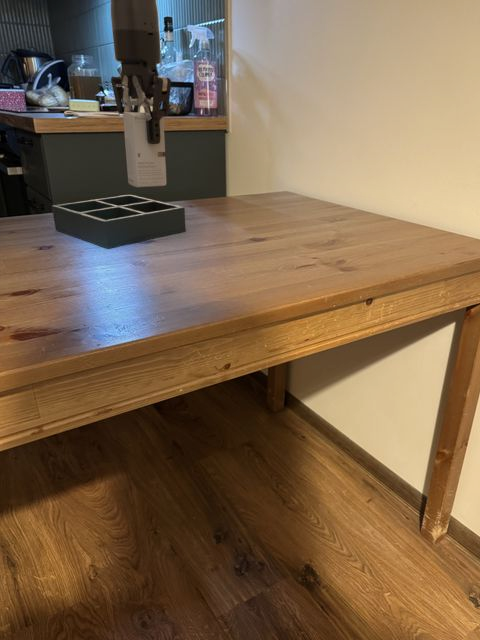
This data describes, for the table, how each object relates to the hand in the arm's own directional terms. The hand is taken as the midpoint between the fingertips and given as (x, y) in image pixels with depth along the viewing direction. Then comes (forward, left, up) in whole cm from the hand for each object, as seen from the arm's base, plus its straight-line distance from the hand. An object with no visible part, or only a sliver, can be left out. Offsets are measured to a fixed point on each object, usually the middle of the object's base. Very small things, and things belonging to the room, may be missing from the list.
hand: (144, 142), depth 89 cm
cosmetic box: (0, 0, -8) cm, 8 cm away
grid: (-4, -4, -16) cm, 17 cm away
